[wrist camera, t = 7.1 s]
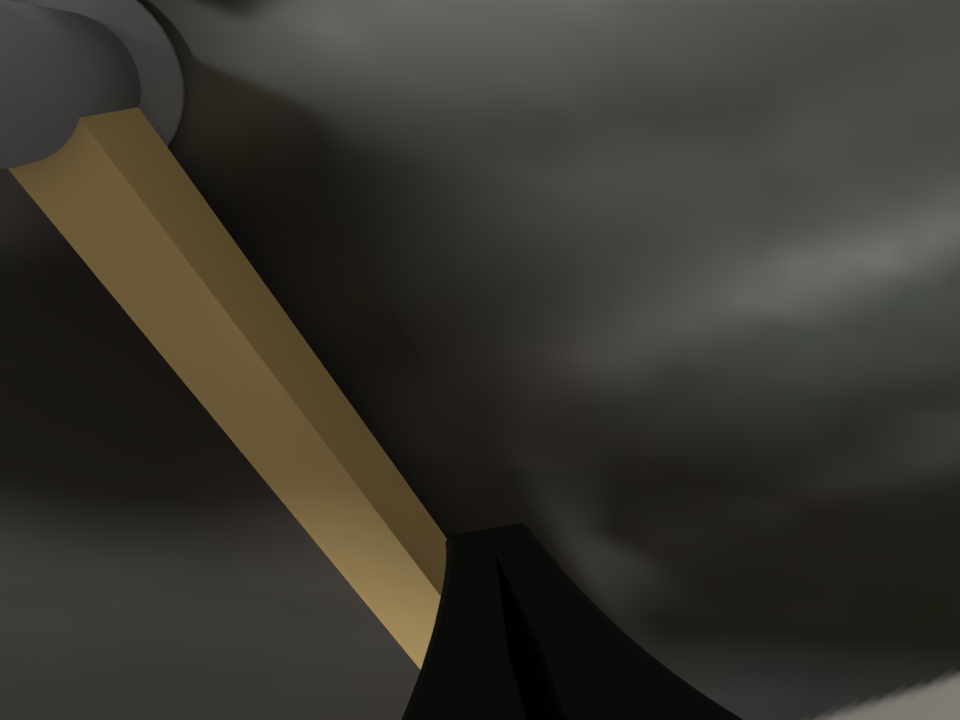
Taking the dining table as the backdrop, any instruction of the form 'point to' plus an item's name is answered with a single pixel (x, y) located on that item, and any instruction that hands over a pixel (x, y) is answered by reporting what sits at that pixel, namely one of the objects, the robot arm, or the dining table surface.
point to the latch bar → (208, 307)
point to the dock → (140, 56)
